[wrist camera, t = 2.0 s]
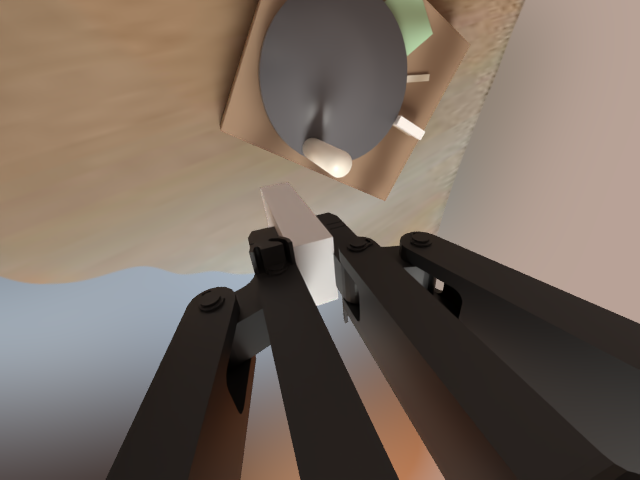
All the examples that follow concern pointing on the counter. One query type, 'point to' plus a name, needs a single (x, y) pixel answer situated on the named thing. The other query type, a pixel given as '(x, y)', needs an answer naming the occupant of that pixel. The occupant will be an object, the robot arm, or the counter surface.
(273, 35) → the gray pegged oval disc
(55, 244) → the counter surface
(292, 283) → the robot arm
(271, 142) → the board
